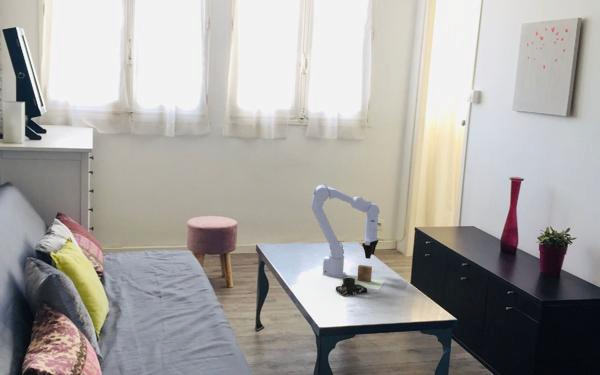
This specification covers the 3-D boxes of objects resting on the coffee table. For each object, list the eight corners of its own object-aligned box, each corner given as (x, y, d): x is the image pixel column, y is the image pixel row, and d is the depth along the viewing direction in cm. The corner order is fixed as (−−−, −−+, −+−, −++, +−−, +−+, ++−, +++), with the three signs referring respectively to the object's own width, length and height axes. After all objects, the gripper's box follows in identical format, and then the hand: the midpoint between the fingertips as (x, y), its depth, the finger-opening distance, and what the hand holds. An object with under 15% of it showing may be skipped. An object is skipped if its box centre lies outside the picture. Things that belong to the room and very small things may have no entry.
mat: (339, 285, 289) (339, 284, 288) (347, 276, 302) (347, 275, 302) (378, 290, 283) (378, 289, 283) (385, 281, 296) (385, 280, 296)
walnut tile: (357, 280, 295) (358, 266, 294) (358, 279, 297) (359, 264, 296) (370, 282, 293) (370, 267, 292) (371, 280, 295) (372, 266, 294)
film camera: (362, 276, 286) (368, 277, 276) (363, 293, 285) (369, 294, 275) (333, 278, 283) (338, 279, 273) (334, 295, 282) (339, 297, 273)
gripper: (376, 232, 291) (374, 261, 294) (382, 226, 305) (381, 253, 307) (361, 231, 294) (359, 259, 296) (368, 224, 307) (366, 251, 309)
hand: (369, 256), depth 302 cm, fingers open, 7 cm apart
